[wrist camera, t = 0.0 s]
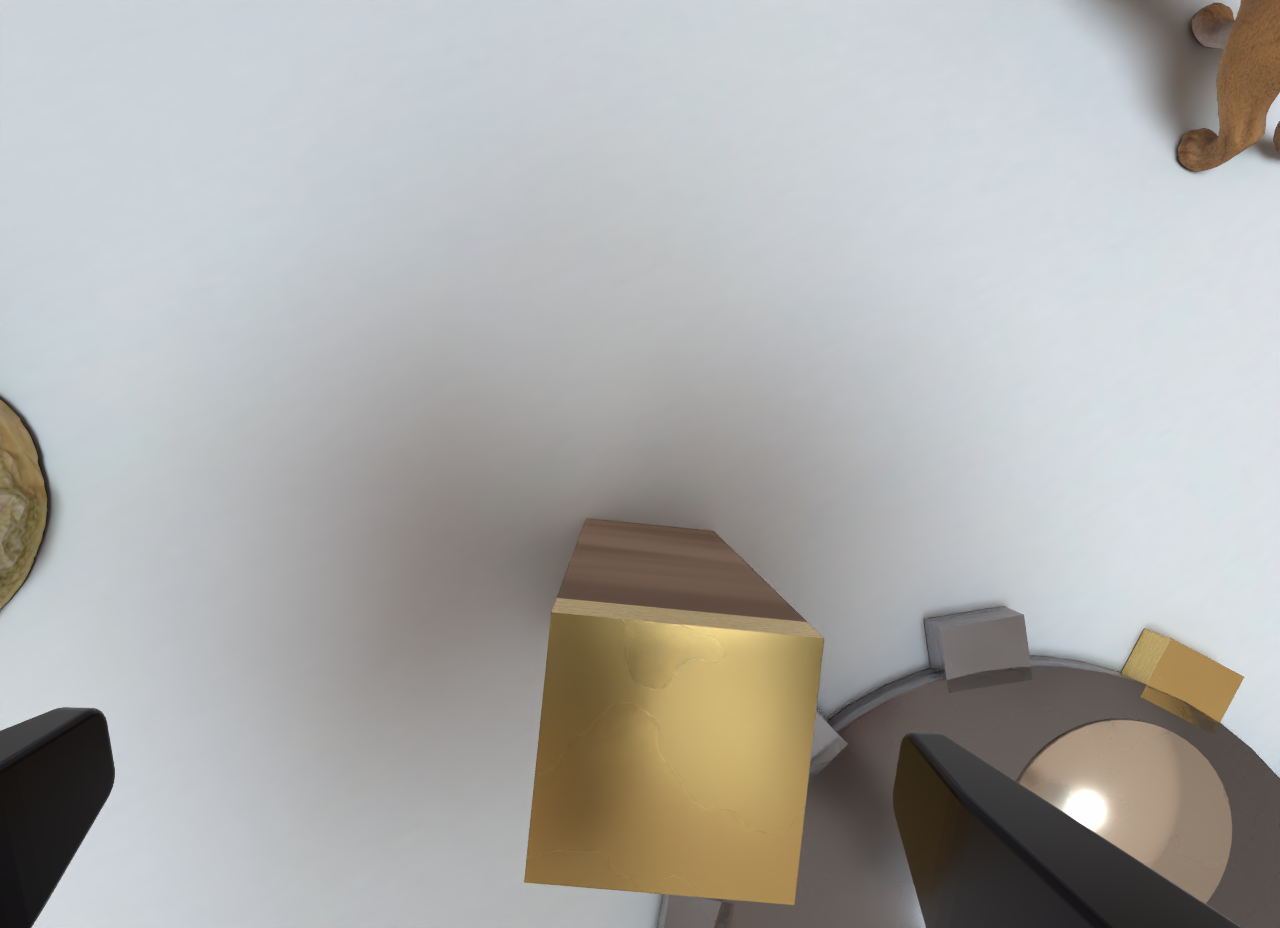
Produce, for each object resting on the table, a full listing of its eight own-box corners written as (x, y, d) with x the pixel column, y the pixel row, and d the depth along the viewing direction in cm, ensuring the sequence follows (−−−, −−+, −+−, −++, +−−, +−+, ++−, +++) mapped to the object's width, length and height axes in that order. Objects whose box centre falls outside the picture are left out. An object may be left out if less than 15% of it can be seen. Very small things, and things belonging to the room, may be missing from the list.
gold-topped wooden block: (700, 657, 25) (794, 905, 12) (573, 645, 24) (524, 882, 11) (713, 531, 24) (824, 638, 11) (585, 518, 24) (551, 611, 11)
